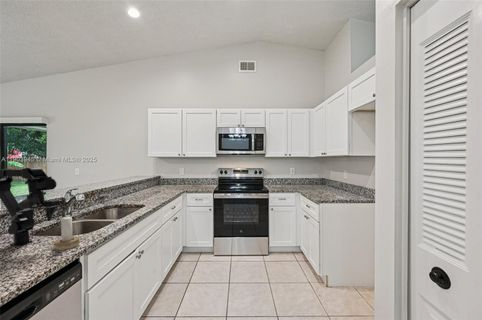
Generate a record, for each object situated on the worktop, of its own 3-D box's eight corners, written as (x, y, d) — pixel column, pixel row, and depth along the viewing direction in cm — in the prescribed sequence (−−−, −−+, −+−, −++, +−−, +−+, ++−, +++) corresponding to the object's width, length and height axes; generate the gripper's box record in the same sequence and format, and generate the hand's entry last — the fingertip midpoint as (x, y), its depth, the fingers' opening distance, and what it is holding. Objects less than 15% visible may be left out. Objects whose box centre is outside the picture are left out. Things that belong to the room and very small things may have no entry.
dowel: (59, 247, 121) (59, 219, 121) (64, 244, 126) (64, 217, 125) (69, 247, 122) (69, 219, 121) (74, 243, 126) (73, 216, 126)
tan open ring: (49, 248, 120) (49, 242, 120) (68, 241, 130) (68, 235, 130) (65, 250, 118) (65, 244, 117) (83, 243, 127) (83, 237, 127)
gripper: (2, 196, 116) (6, 229, 116) (41, 191, 116) (45, 223, 116) (23, 193, 128) (27, 223, 127) (58, 188, 127) (62, 218, 127)
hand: (40, 222), depth 124 cm, fingers open, 9 cm apart
